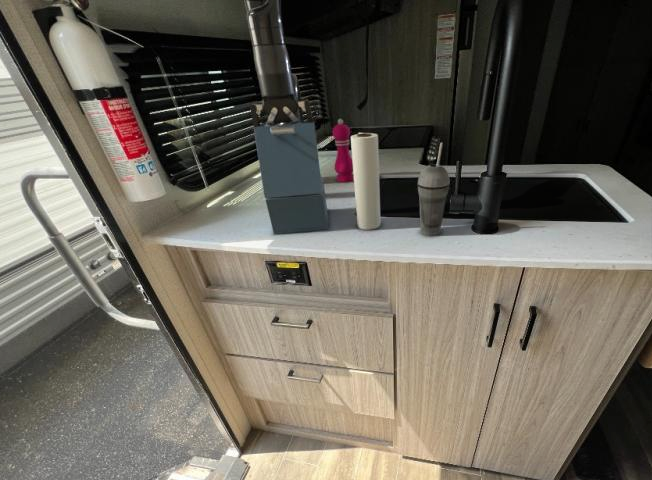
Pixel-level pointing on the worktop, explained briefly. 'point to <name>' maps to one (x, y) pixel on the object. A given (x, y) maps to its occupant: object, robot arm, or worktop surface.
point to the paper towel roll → (366, 179)
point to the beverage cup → (432, 196)
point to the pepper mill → (343, 153)
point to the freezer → (298, 213)
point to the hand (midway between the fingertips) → (288, 149)
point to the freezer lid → (288, 160)
